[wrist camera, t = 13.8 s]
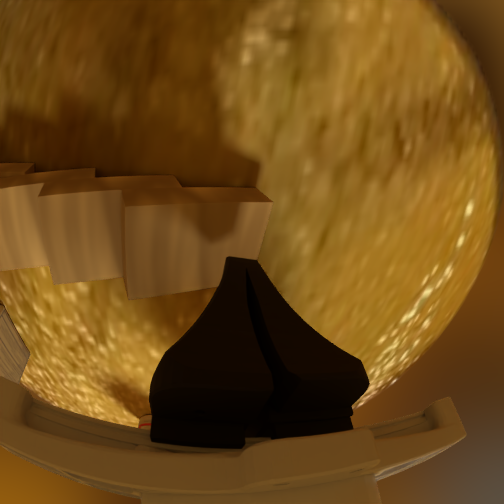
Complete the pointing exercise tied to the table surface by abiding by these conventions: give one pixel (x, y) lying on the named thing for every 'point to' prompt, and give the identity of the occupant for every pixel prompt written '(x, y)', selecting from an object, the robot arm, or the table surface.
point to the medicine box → (11, 349)
